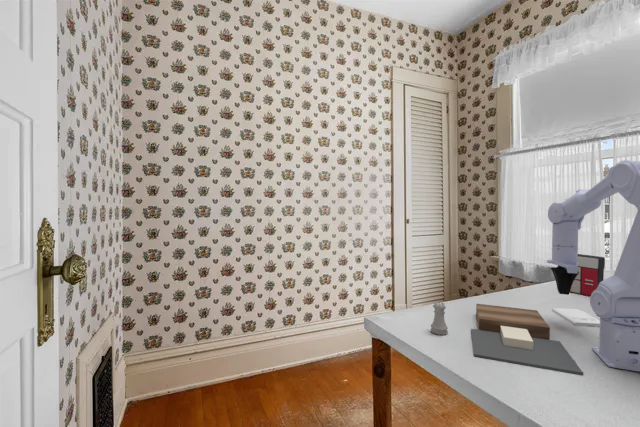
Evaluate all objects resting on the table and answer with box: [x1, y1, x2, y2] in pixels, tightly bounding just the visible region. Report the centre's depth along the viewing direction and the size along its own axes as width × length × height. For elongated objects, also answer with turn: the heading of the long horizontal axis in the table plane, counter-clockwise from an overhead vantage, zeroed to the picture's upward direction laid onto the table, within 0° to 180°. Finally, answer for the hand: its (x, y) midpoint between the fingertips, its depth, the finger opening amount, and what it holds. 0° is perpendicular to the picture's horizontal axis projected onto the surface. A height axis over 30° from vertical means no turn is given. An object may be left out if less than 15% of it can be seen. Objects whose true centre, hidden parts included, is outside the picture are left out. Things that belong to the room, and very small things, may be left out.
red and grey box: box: [570, 253, 606, 298], centre depth 121 cm, size 11×4×15 cm, turn 25°
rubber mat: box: [470, 328, 584, 376], centre depth 75 cm, size 16×20×1 cm
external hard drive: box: [551, 307, 600, 328], centre depth 95 cm, size 2×8×12 cm
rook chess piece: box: [430, 301, 449, 336], centre depth 85 cm, size 4×4×8 cm
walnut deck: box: [475, 303, 551, 340], centre depth 89 cm, size 14×16×4 cm
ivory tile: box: [500, 326, 533, 350], centre depth 79 cm, size 8×6×2 cm
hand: (563, 293), depth 89 cm, fingers closed
